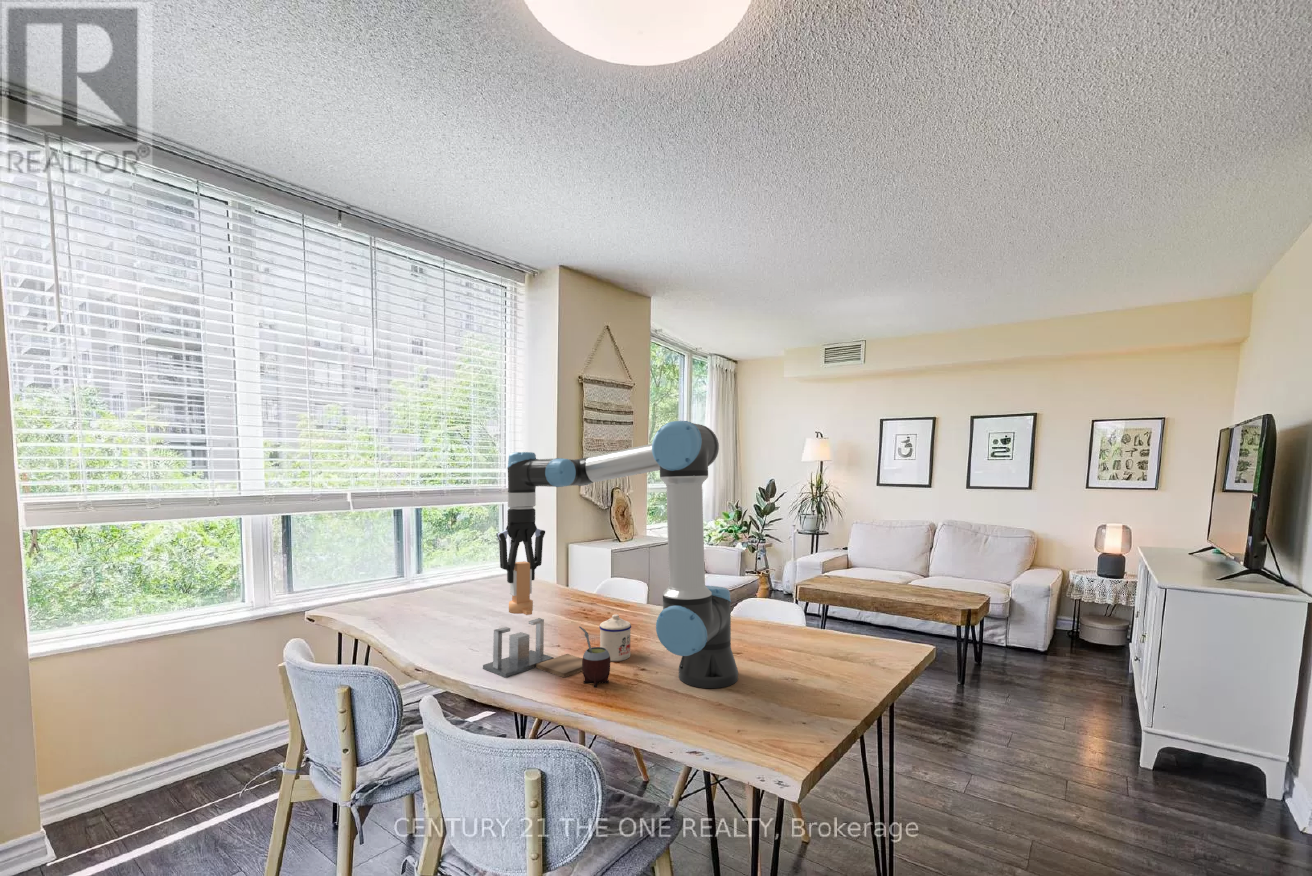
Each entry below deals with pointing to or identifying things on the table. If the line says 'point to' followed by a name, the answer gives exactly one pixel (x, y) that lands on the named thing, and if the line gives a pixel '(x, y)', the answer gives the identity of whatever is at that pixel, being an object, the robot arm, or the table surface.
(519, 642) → the grey double hook stand
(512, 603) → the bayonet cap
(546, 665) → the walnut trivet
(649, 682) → the table surface
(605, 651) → the mate gourd
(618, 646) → the teacup with lid
